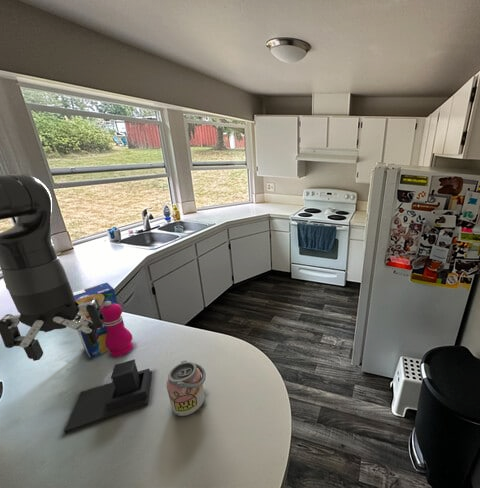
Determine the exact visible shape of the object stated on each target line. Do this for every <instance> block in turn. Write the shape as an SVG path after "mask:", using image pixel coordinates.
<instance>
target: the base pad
mask: <svg viewBox="0 0 480 488" xmlns="http://www.w3.org/2000/svg"><path fill="white" fill-rule="evenodd" d="M138 374H139V377H140V380H141V386H140V390H138V391H135V392H132V393H129V394H126V395H123V396H120V397H118V395H117V392H116V389H115V386H114V383H113V380H112V381H111V382H109V383H106V384H102V385H99V386H95V387H92V388H89V389H85V390H82V391H80V393H79V395H78V398H77V400H76V402H75V405H74V407H73V410H72V411H71V414H70V416H69V419H68V421H67V423H66V425H65V428H64V430H63V432H64V434H69V433H71V432H74V431H77V430H81V429H83V428H85V427H88V426H92V425H95V424H97V423H100V422H103V421H106V420H108V419H113V418H114V417H117V416H120V415H123V414H126V413H129V412H131V411H135V410H137V409H140V408H143V407H146V406H148V405H149V398H150V393H151V386H152V379H153V371H152V370H150V368H146V369H141V370H139V371H138Z"/></svg>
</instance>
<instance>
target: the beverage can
mask: <svg viewBox="0 0 480 488" xmlns="http://www.w3.org/2000/svg"><path fill="white" fill-rule="evenodd" d="M206 372H207V371H206V370H205V368H203V366H202V365H201V364H199V363H196V362H193V361H188V360H185V359H184V360H181V361H180V363H178V364H176V365H175V366H173V367H172V368H171V369H170V371H169V372H168V373H167V381H166V390H167V395H168V398H169V403H170V407H171V410H172V412H173V414H175V416H179V417H186V416H189V415H192V414H193V413H195V412H196V411H198V410H199V409H200V408H201V407H202V406H203V403H204V401H205V397H206V395H205V390H204V385H203V384H204V383H205V381H206V379H207V378H206V377H207V373H206Z"/></svg>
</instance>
